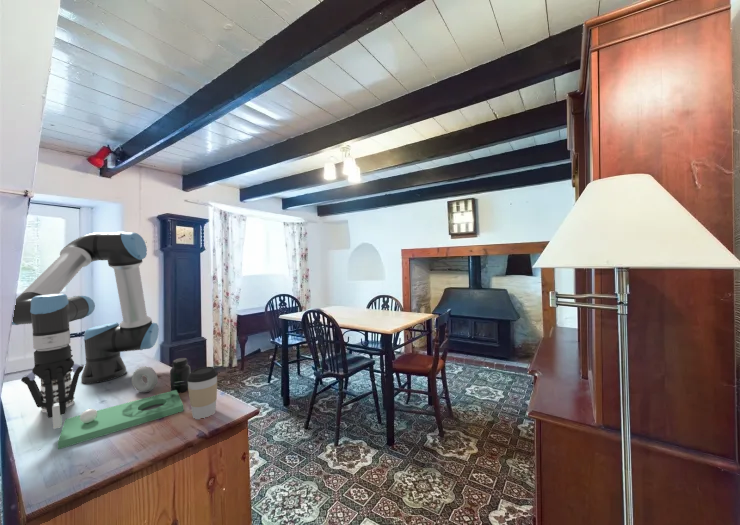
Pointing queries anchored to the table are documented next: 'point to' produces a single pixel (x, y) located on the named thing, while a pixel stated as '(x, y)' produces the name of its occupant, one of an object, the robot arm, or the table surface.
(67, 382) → the decorative candle
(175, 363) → the supplement bottle
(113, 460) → the table surface
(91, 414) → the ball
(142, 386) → the donut
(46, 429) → the table surface
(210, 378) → the coffee cup
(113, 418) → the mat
